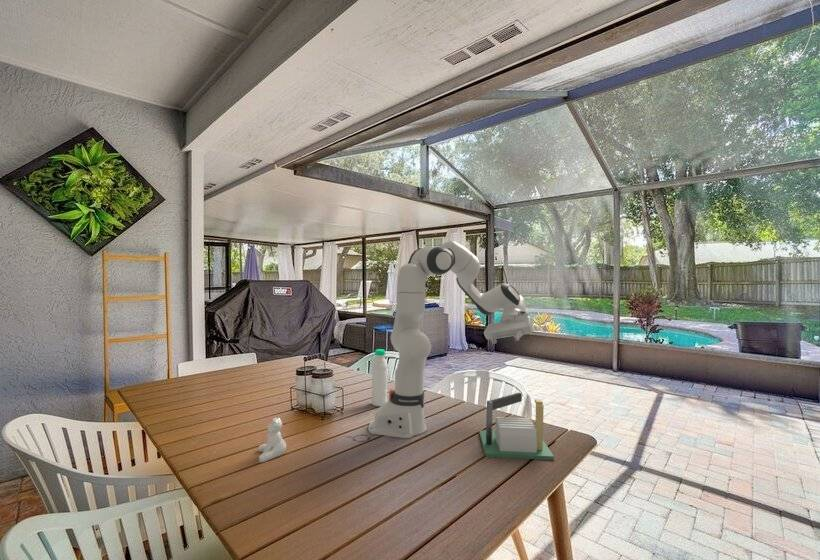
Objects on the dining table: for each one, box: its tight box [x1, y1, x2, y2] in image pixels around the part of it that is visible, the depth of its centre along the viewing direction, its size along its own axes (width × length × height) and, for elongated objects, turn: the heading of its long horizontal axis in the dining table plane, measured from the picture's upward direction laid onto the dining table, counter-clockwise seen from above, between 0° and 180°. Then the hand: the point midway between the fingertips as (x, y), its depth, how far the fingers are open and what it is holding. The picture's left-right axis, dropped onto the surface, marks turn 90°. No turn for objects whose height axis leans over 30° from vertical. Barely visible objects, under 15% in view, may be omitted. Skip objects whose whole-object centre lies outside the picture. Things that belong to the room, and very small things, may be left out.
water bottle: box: [371, 348, 389, 407], centre depth 170 cm, size 7×7×25 cm
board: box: [478, 398, 555, 461], centre depth 131 cm, size 22×18×17 cm
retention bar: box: [485, 392, 523, 444], centre depth 134 cm, size 18×2×14 cm, turn 126°
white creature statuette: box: [257, 417, 287, 463], centre depth 122 cm, size 10×9×12 cm
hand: (504, 340), depth 148 cm, fingers open, 8 cm apart
